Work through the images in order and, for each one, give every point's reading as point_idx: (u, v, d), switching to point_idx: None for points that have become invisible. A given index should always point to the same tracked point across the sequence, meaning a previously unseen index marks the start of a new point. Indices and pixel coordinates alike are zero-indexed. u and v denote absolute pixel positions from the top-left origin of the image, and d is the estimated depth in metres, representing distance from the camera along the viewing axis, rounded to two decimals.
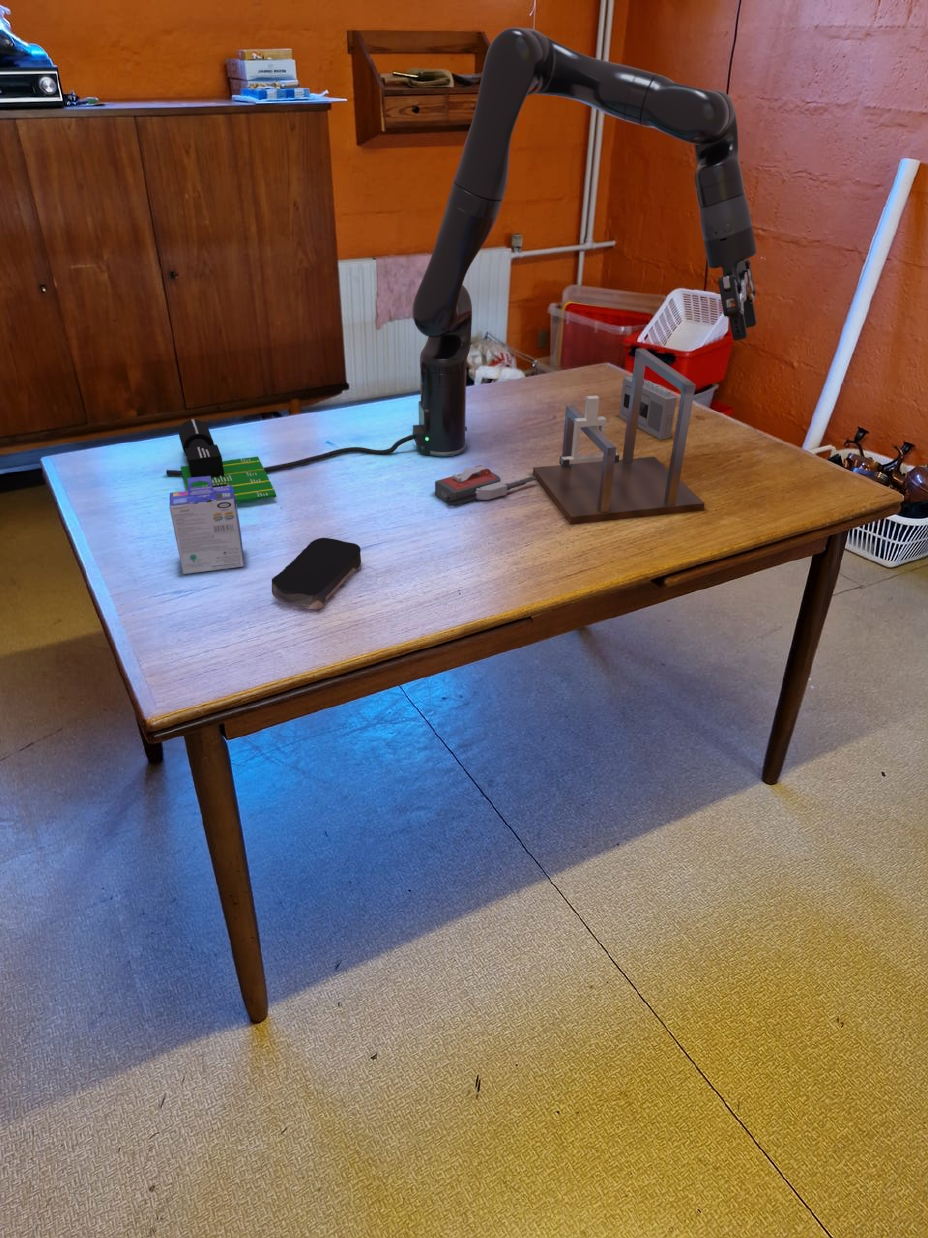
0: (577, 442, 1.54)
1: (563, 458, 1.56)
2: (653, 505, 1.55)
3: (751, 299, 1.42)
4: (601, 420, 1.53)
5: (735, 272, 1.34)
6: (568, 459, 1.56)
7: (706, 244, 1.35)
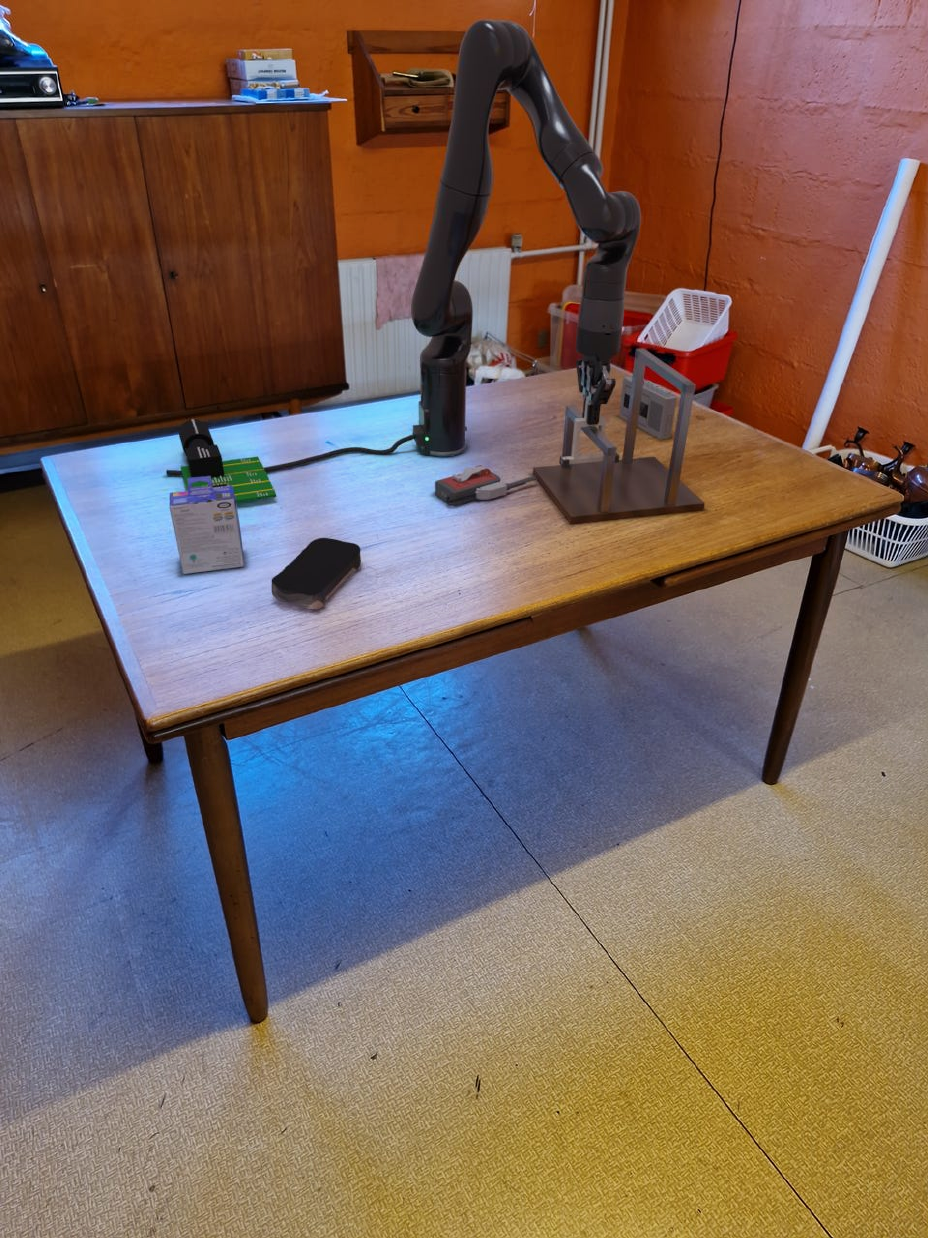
0: (577, 442, 1.54)
1: (563, 458, 1.56)
2: (653, 505, 1.55)
3: None
4: (601, 420, 1.53)
5: (609, 365, 1.44)
6: (568, 459, 1.56)
7: (587, 333, 1.42)
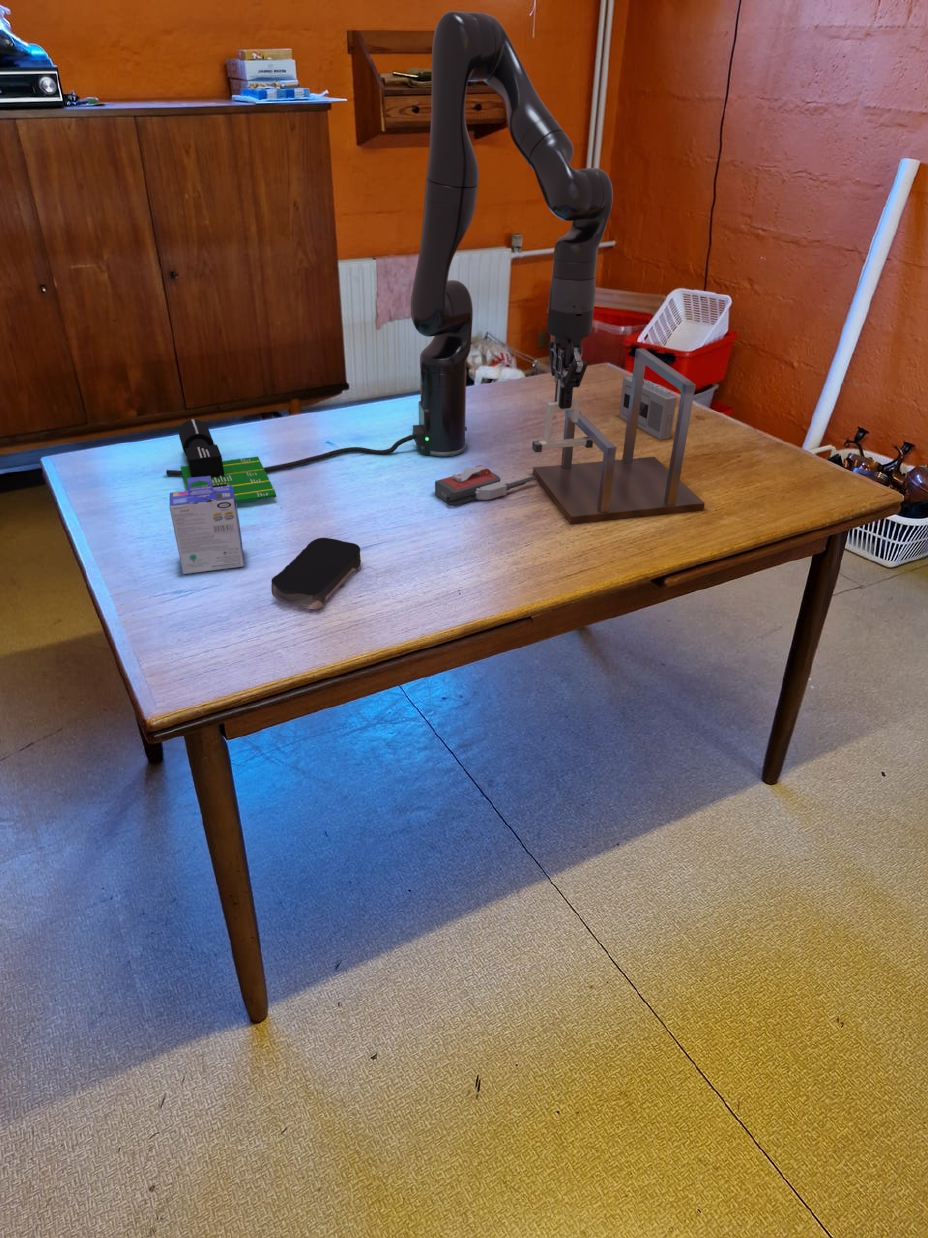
0: (550, 426, 1.51)
1: (536, 443, 1.53)
2: (653, 505, 1.55)
3: None
4: (574, 404, 1.50)
5: (581, 347, 1.41)
6: (541, 444, 1.53)
7: (558, 314, 1.39)
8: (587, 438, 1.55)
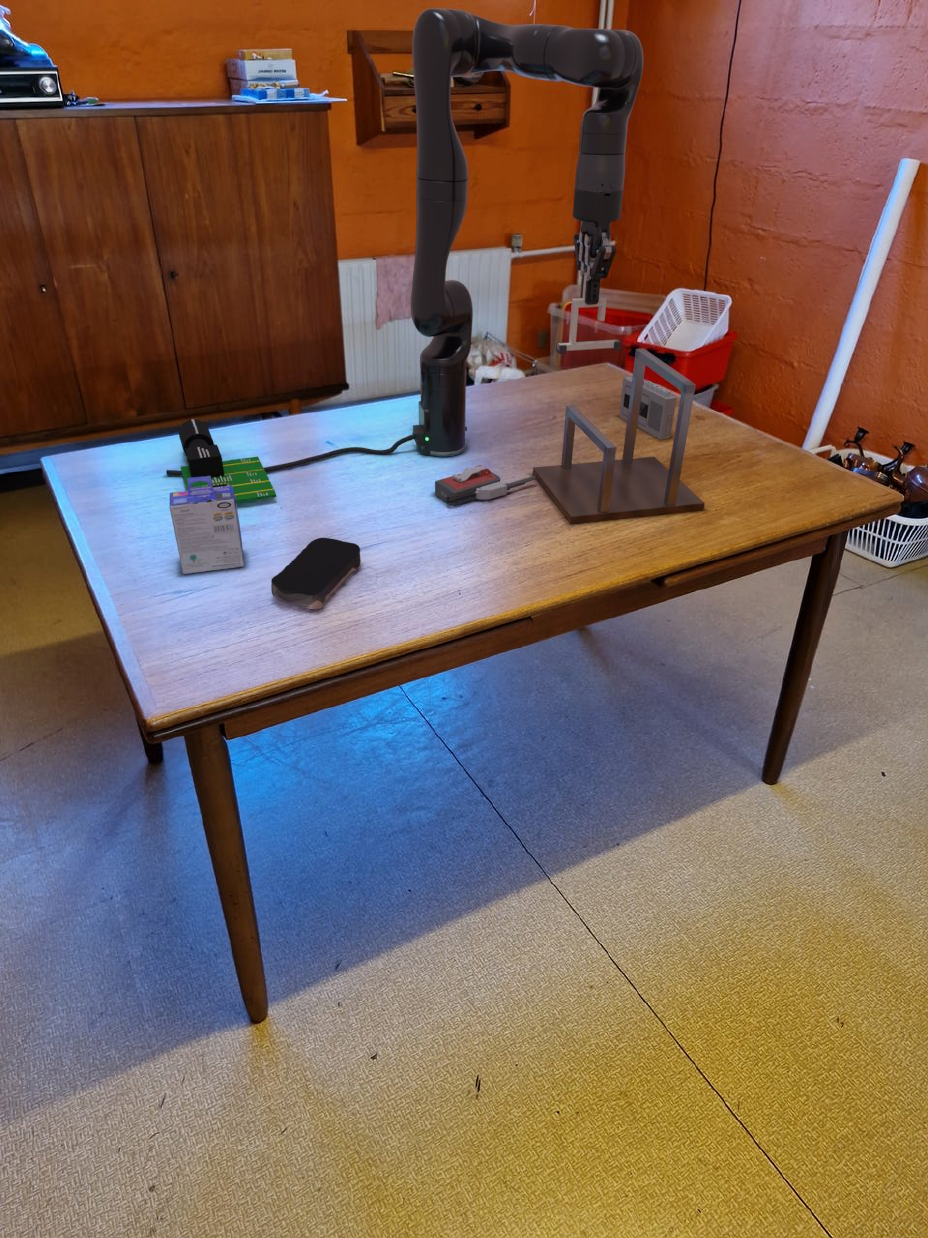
0: (575, 325, 1.42)
1: (560, 344, 1.44)
2: (653, 505, 1.55)
3: None
4: (601, 300, 1.41)
5: (609, 231, 1.32)
6: (565, 345, 1.43)
7: (585, 194, 1.30)
8: (615, 340, 1.46)
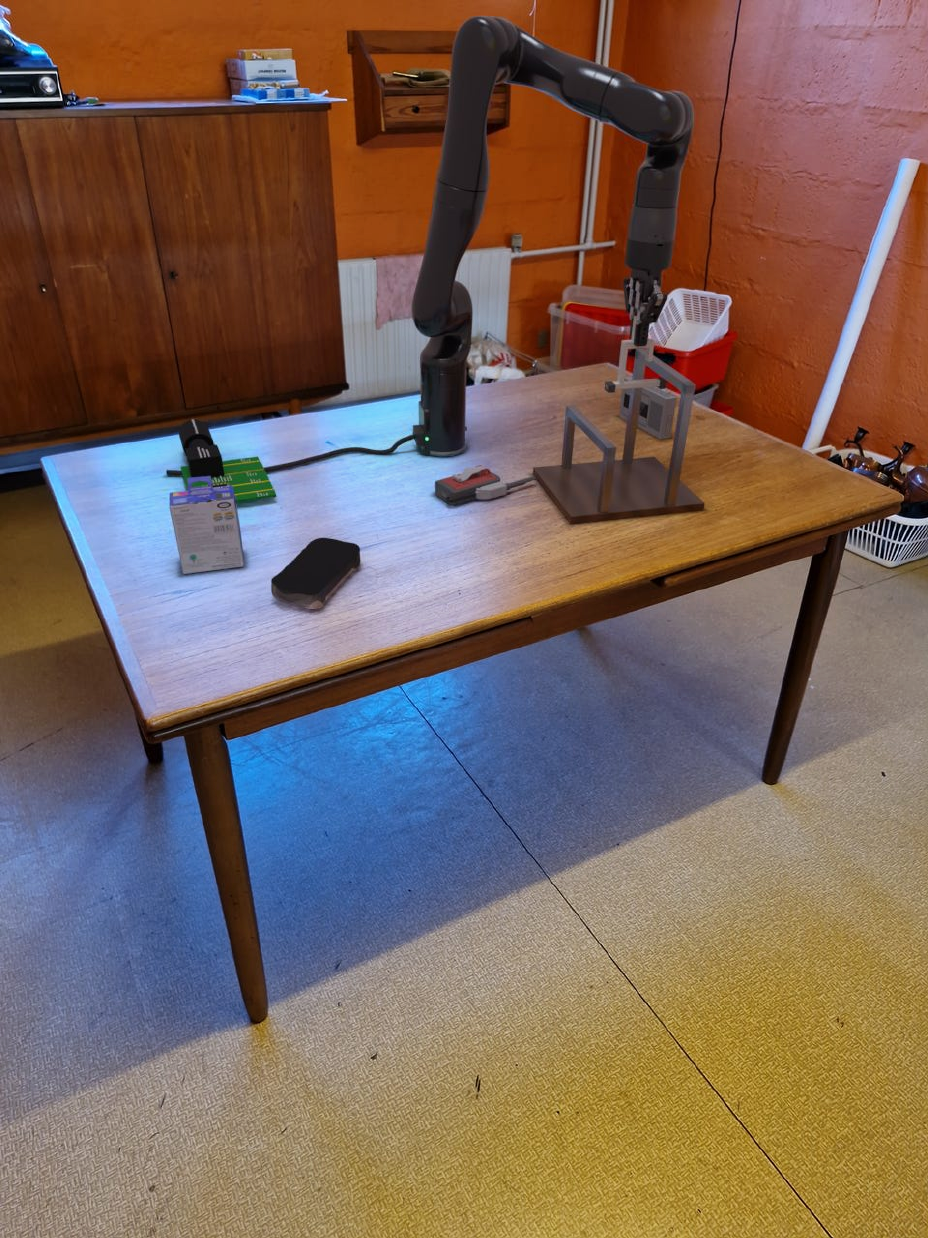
0: (624, 365, 1.48)
1: (609, 383, 1.50)
2: (653, 505, 1.55)
3: None
4: (649, 342, 1.47)
5: None
6: (614, 384, 1.50)
7: (638, 244, 1.36)
8: (660, 379, 1.52)
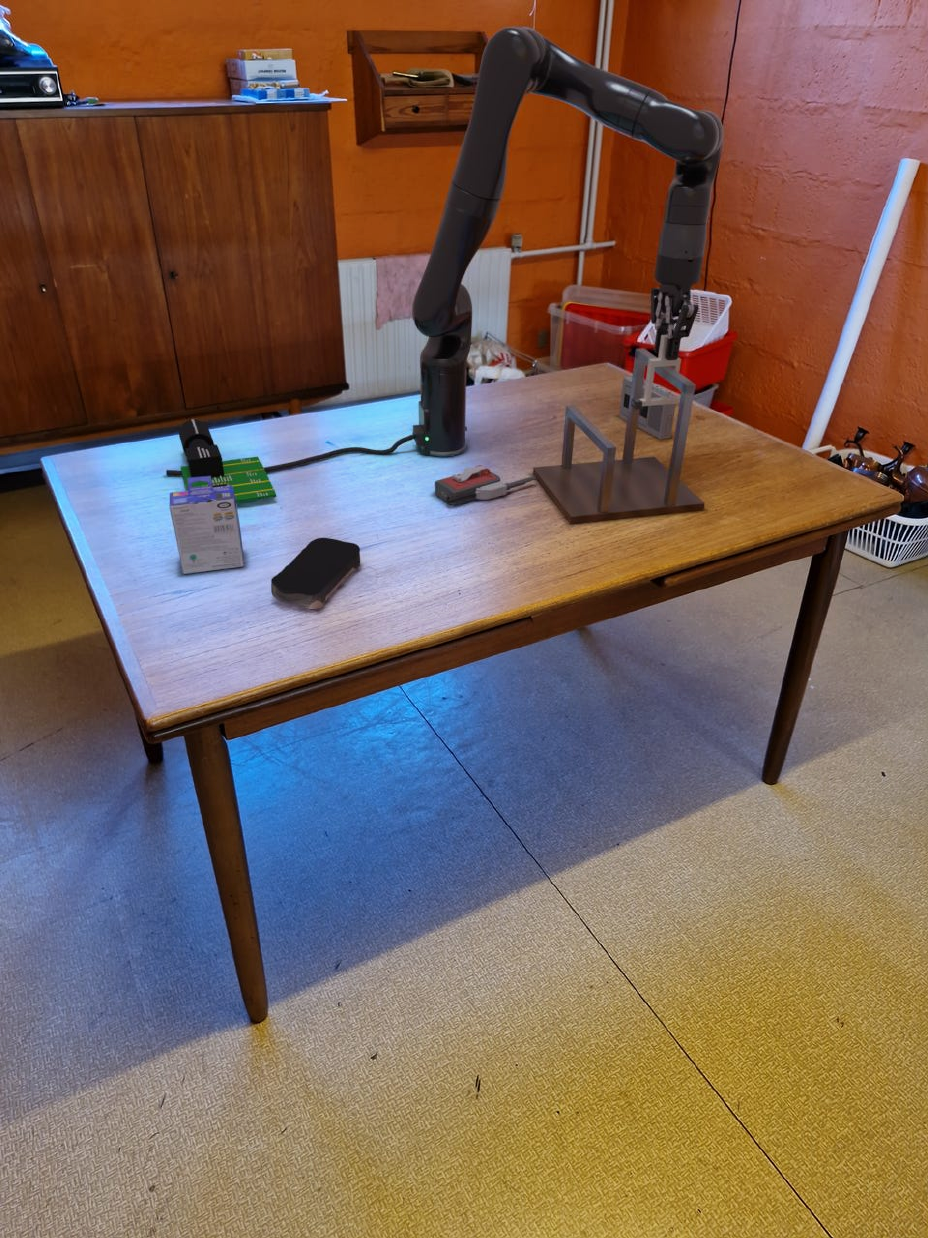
0: (651, 383, 1.51)
1: (635, 400, 1.53)
2: (653, 505, 1.55)
3: None
4: (676, 360, 1.50)
5: (690, 294, 1.41)
6: (641, 401, 1.53)
7: (669, 260, 1.38)
8: None
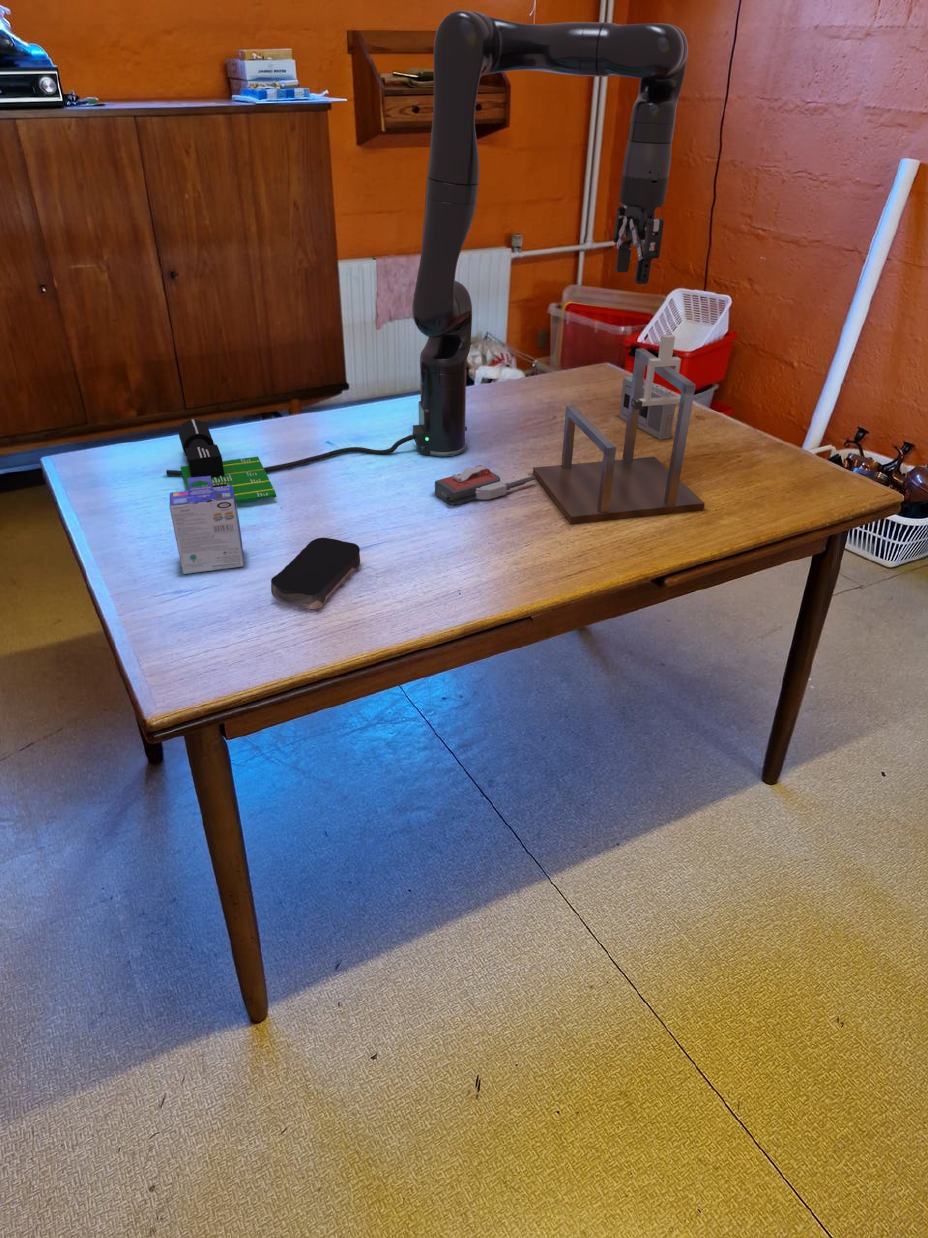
0: (651, 383, 1.51)
1: (635, 400, 1.53)
2: (653, 505, 1.55)
3: (631, 245, 1.49)
4: (676, 360, 1.50)
5: (654, 217, 1.39)
6: (641, 401, 1.53)
7: (633, 180, 1.37)
8: None
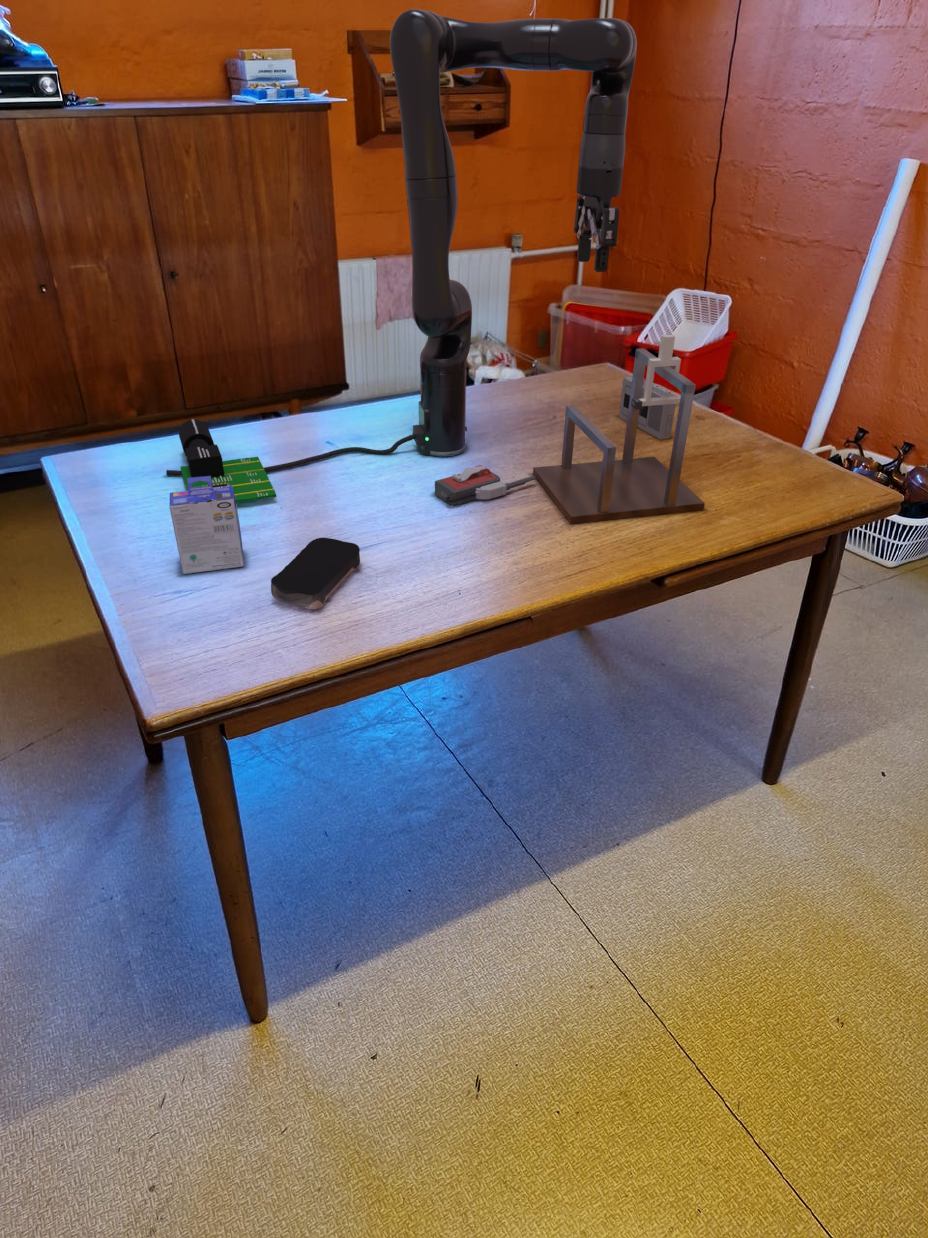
0: (651, 383, 1.51)
1: (635, 400, 1.53)
2: (653, 505, 1.55)
3: (591, 235, 1.53)
4: (676, 360, 1.50)
5: (610, 206, 1.43)
6: (641, 401, 1.53)
7: (588, 171, 1.41)
8: None
